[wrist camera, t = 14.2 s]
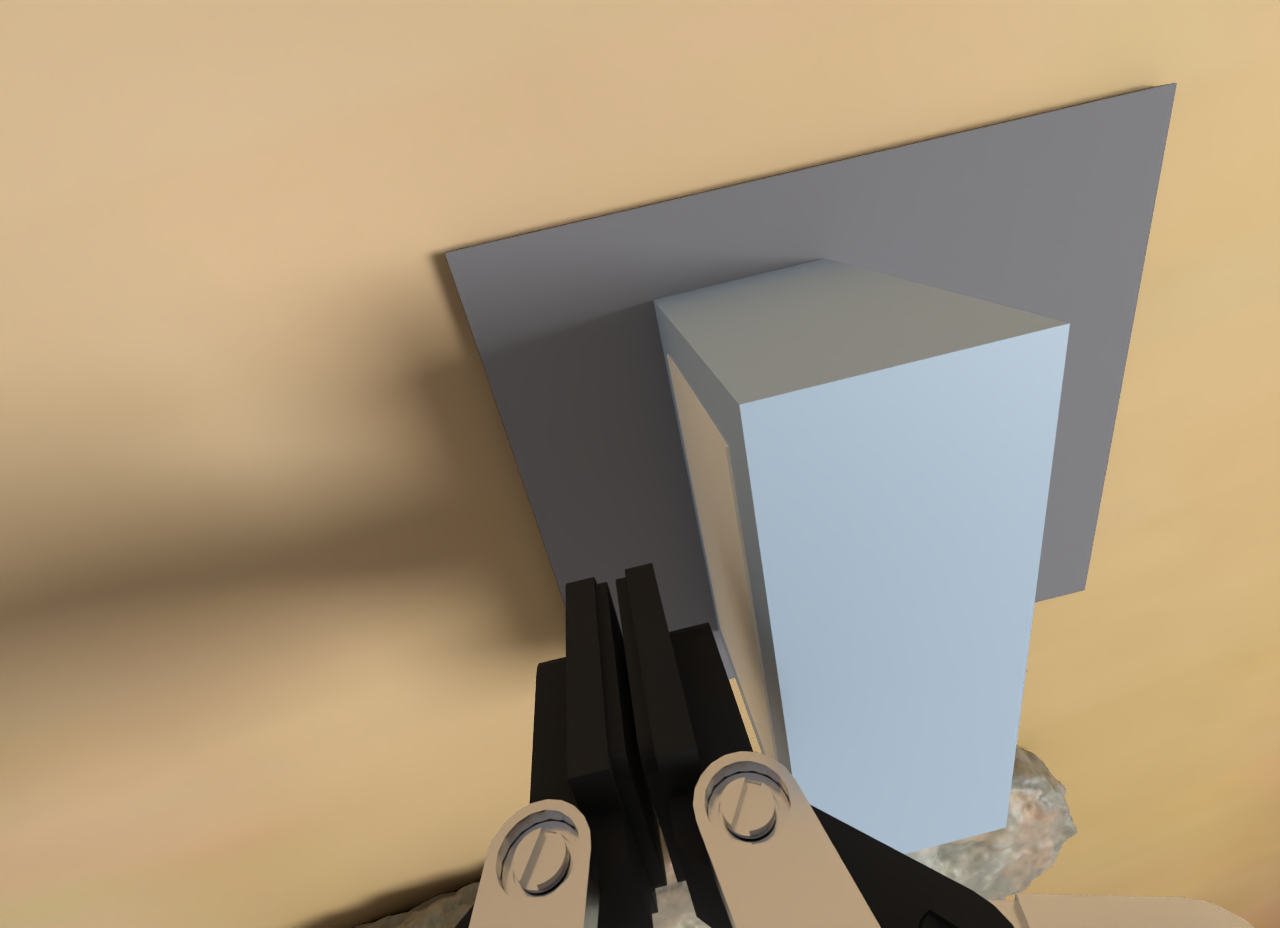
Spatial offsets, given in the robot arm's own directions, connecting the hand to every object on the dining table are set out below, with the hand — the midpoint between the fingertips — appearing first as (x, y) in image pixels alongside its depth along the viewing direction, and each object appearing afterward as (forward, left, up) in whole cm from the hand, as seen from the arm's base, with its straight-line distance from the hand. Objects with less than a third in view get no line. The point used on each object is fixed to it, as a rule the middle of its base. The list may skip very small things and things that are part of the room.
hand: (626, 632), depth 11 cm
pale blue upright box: (0, +4, -5) cm, 6 cm away
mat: (0, +6, -5) cm, 8 cm away
